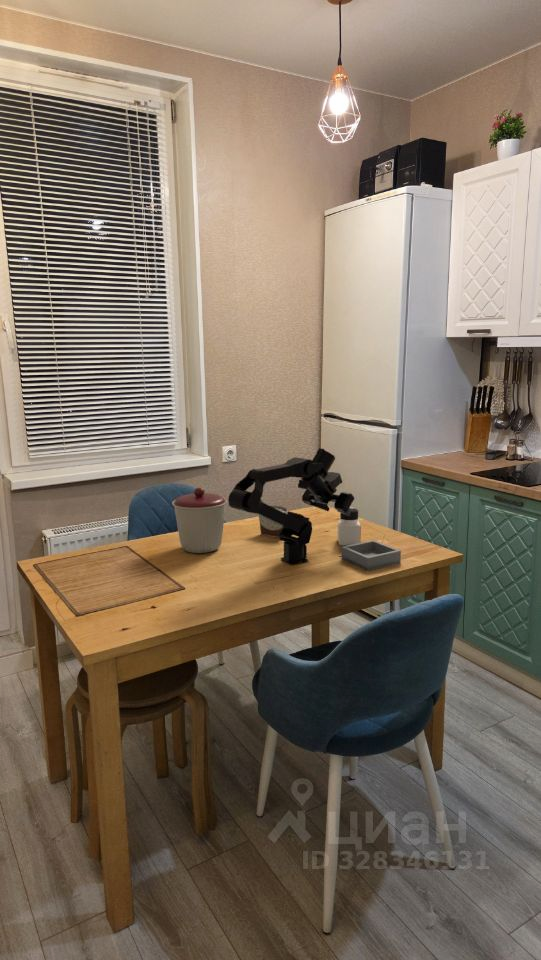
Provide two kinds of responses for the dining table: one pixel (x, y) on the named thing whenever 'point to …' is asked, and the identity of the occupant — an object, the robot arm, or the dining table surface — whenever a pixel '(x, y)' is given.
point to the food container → (271, 524)
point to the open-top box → (371, 555)
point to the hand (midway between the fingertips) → (338, 512)
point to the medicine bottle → (349, 528)
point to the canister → (200, 520)
